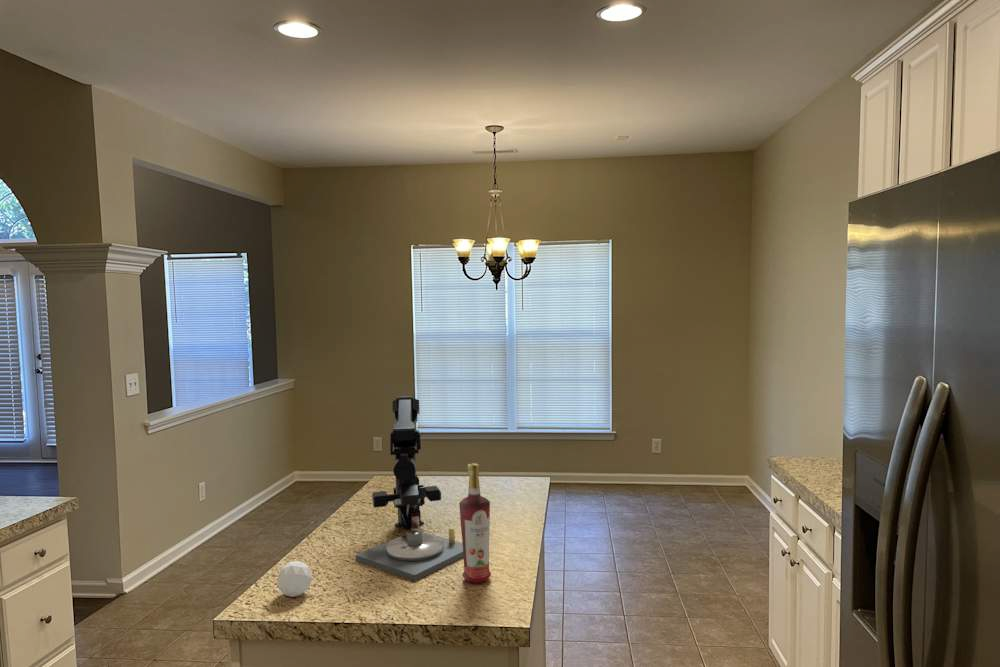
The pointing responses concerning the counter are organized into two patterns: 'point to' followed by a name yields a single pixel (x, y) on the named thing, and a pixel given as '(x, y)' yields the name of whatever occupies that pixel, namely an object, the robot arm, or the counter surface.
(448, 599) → the counter surface
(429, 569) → the post plate
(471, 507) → the liquor
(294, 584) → the ball
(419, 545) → the grey disc with handle
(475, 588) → the counter surface
